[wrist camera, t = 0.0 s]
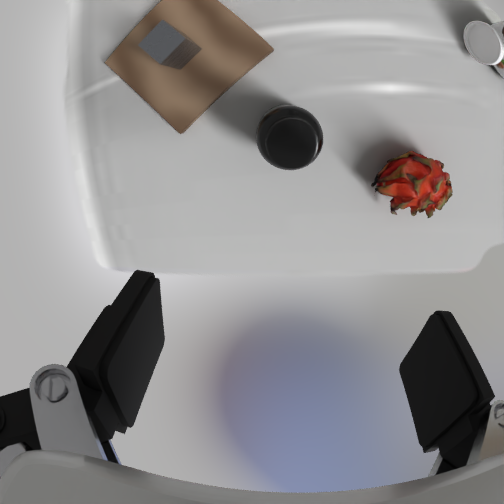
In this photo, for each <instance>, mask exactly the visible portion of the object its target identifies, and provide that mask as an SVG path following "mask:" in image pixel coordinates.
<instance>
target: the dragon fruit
mask: <svg viewBox="0 0 504 504" xmlns="http://www.w3.org/2000/svg"><path fill="white" fill-rule="evenodd" d="M388 162H389V163H388ZM387 163H388V164H387V165H385V167H384V168H383V169H382V170H381V171H380V172H379V173H378V174H377V175H376V177H375V180H374V181H375V182H373V183H372V185H371V186H372V187H373V186H374V185H375V184H376V183H377V186H376V188H375V190H374V191H375V192H376V191H378V192H379V193H381V194H383V195H388V196H391V197H394V198H393V199H391V201H390V202H391V206H390V208H391V209H390V210H391V213H392V214H396V212H395V210H398V209H399V208H401V209H405V208H407V207H409V206H410V208H411V215H413V216H415V215H416V213H417V211H419V212H420V213H421V212H423V211H424V210H425V211H426V214H427V216H428V217H427V218H430V217H431V216H432V215H433V211H434V212H435V208H436V209H438V210H441V209H442V207H443V206H444V205H445V203H447V201H448V199H449V198H450V197H451V196H452V187H451V182H450V181H449V179H450V176H449V174H448V173H446V172H443V171H442V169H443V168H444V164H443V163H441V162H440V161H438V160H435V161H434V160H433V159H431V158H427V157H425V156H423V155H421V154H417V153H415V152H414V151H410V152H407V153H406V154H403V155H401V156H398V157H397V158H393V159H391V160H388V161H387ZM374 196H375V195H374ZM396 215H397V214H396Z"/></svg>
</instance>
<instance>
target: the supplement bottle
mask: <svg viewBox="0 0 504 504" xmlns="http://www.w3.org/2000/svg"><path fill="white" fill-rule="evenodd" d="M256 141H257V146H258V149H259V151H260V153H261V155H262V156H263V157H264V159H265V160H266V161H267V162H269V163H270V164H271V165H273V166H275V167H277V168H280V169H284V170H297V169H301V168H304V167H306V166H308V165H309V164H311V163H312V162H313V161H314V160H315V159H316V158H317V156H318V155H319V153H320V151H321V149H322V145H323V132H322V129H321V126H320V124H319V122H318V121H317V119H316V118H315V117H314V116H313V115H312V114H311V113H310V112H308V111H307V110H305V109H303V108H300V107H297V106H293V105H279V106H276V107H273V108H272V109H270V110H269V111H268V112H267V113H266V114H265V115H264V116H263V118H262V119H261V121H260V123H259V126H258V128H257V133H256Z"/></svg>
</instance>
